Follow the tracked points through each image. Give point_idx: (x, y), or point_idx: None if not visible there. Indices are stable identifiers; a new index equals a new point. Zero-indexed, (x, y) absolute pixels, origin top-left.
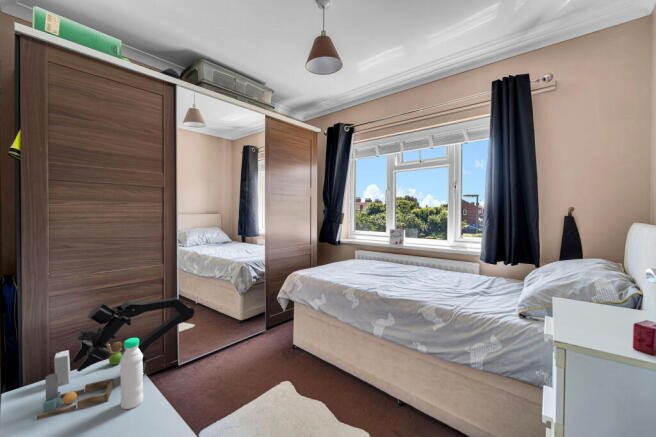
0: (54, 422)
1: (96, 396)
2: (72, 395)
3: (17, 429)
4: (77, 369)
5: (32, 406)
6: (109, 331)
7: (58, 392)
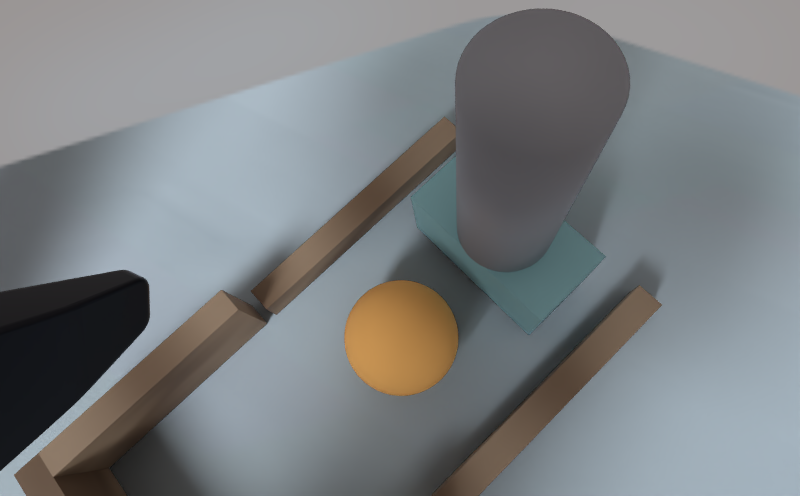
0: (275, 157)
1: (96, 404)
2: (349, 329)
3: (456, 40)
4: (102, 274)
5: (684, 208)
6: None
7: (541, 302)
